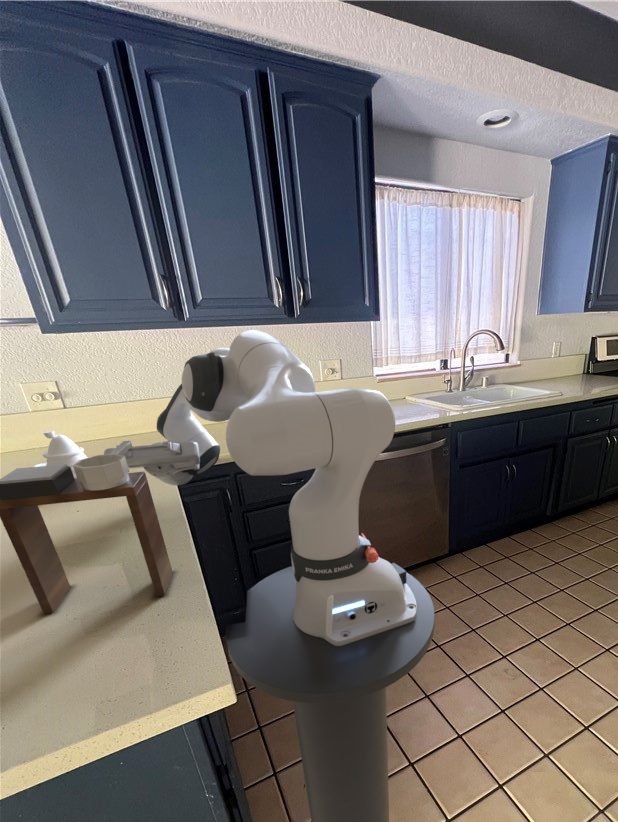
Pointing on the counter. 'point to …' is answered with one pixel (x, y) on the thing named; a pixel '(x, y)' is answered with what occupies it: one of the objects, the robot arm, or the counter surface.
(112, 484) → the scoop bowl
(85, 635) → the counter surface
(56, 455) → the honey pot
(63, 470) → the kitchen scale
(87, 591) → the counter surface
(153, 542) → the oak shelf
